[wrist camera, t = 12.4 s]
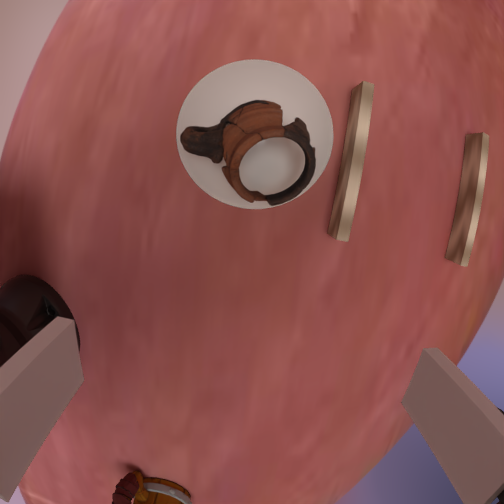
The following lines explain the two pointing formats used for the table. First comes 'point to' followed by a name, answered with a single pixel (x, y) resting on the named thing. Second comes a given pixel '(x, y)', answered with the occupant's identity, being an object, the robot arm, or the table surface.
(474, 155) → the pair of beige bars
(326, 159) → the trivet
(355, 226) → the table surface
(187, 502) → the mug
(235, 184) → the pottery mug
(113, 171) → the table surface
